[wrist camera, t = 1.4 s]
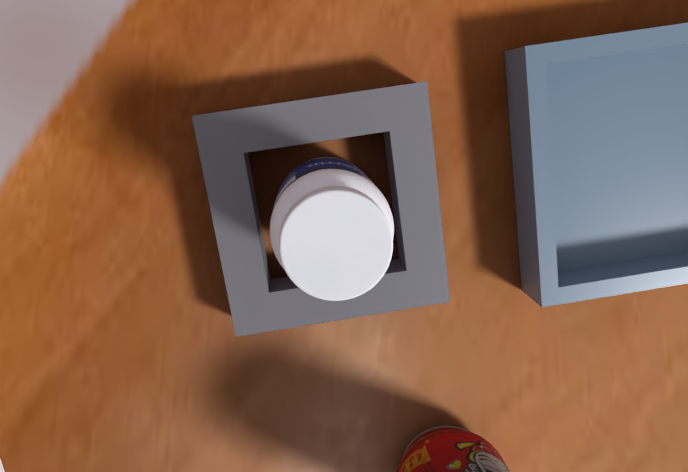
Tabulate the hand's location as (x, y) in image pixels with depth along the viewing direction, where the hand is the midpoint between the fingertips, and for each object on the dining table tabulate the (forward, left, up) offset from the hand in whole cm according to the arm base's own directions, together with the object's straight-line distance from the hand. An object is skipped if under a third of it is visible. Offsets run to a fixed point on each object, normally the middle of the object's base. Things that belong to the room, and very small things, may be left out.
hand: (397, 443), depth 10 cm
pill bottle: (0, 0, -24) cm, 24 cm away
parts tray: (+18, 0, -24) cm, 30 cm away
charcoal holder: (0, 0, -24) cm, 24 cm away
